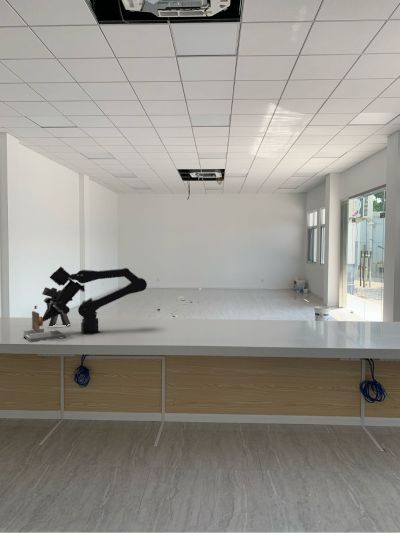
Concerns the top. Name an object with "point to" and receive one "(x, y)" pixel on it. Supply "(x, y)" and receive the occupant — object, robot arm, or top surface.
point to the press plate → (36, 321)
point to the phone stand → (63, 317)
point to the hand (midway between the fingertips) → (42, 320)
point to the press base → (41, 335)
